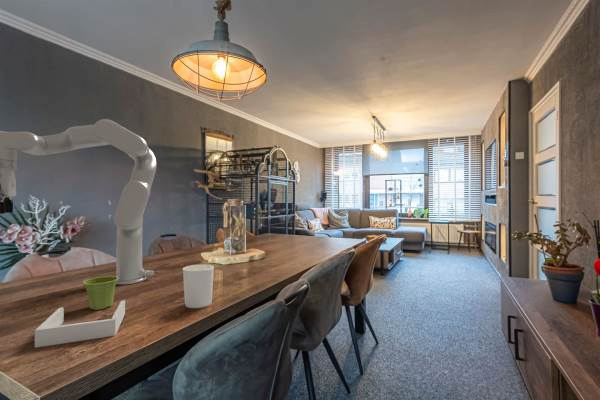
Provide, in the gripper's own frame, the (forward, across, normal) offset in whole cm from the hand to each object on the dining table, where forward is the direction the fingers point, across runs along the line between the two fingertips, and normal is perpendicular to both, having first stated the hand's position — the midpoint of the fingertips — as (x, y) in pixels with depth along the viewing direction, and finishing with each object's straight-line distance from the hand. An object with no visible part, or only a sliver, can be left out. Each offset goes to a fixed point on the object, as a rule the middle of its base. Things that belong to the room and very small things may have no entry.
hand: (2, 213), depth 107 cm
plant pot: (+30, -34, -30) cm, 54 cm away
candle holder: (+30, -47, -58) cm, 80 cm away
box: (+30, -51, -28) cm, 65 cm away
